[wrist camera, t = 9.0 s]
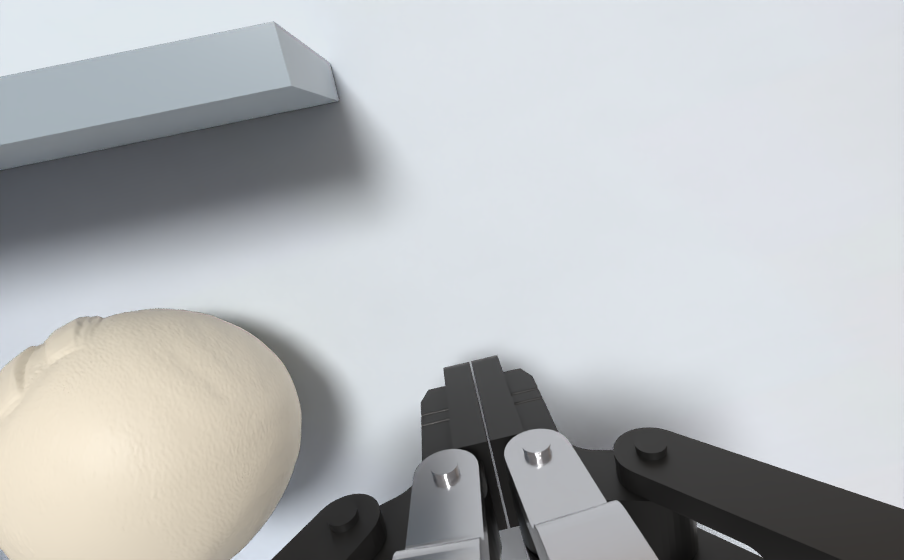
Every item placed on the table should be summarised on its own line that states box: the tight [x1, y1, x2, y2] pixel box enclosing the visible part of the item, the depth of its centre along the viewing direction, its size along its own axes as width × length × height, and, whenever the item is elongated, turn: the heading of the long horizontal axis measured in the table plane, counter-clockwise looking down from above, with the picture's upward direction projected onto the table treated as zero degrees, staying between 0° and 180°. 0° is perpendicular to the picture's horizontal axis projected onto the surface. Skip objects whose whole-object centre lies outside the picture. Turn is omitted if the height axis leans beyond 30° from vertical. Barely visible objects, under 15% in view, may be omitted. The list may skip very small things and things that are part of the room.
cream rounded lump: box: [0, 308, 302, 560], centre depth 13 cm, size 7×7×7 cm
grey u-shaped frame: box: [0, 21, 339, 170], centre depth 13 cm, size 17×18×6 cm
